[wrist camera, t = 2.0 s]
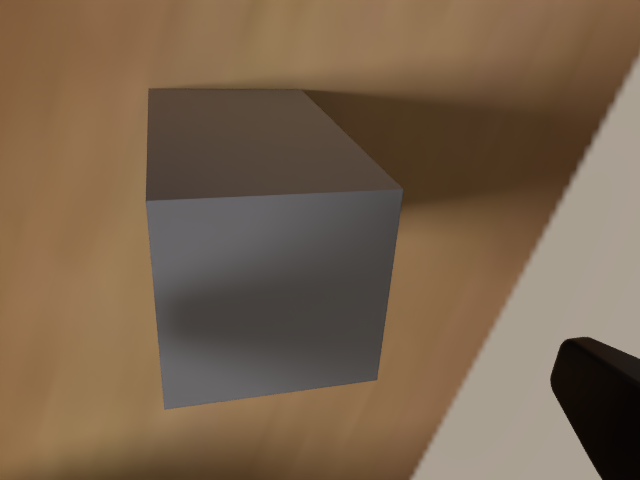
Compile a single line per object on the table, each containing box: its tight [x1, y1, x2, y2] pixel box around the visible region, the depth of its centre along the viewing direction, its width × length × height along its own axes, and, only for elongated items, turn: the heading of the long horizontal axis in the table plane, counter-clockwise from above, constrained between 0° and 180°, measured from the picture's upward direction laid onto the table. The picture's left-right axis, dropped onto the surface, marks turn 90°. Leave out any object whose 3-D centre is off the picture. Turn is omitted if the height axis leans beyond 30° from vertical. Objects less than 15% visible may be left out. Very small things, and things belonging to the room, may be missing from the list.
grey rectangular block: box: [146, 89, 404, 410], centre depth 14 cm, size 4×4×8 cm
